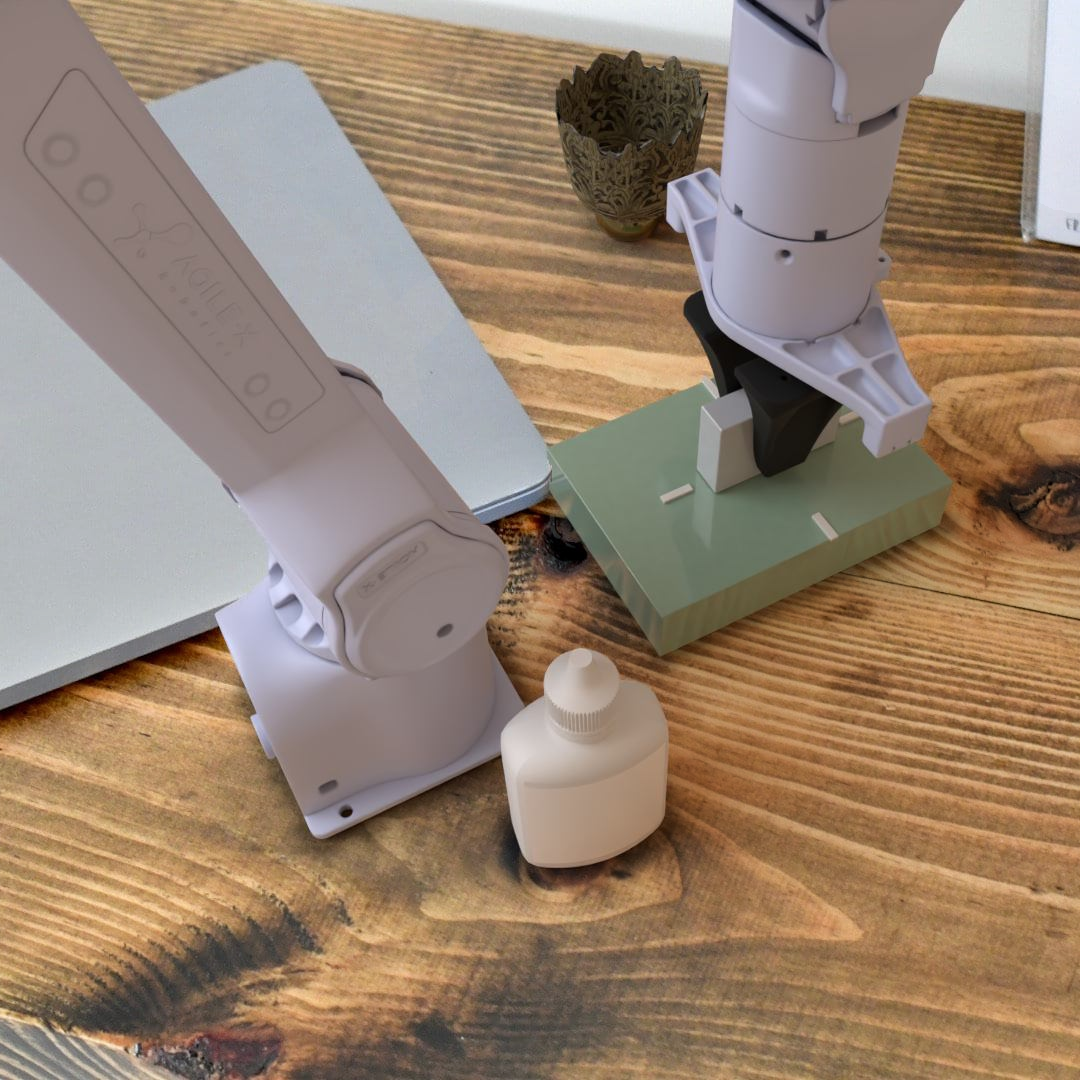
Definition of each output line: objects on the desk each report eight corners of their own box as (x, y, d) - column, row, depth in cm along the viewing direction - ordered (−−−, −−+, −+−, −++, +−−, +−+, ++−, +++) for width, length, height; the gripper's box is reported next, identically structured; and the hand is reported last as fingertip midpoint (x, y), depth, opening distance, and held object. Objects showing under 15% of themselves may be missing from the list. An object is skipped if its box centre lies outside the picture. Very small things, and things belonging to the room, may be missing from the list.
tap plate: (661, 659, 53) (663, 617, 51) (547, 488, 59) (544, 443, 57) (941, 526, 57) (956, 481, 54) (808, 377, 62) (816, 329, 60)
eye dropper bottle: (653, 889, 48) (662, 734, 38) (503, 864, 49) (475, 706, 39) (670, 782, 50) (682, 610, 41) (527, 759, 51) (505, 586, 41)
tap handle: (715, 494, 55) (721, 427, 51) (695, 468, 55) (700, 401, 52) (835, 441, 56) (850, 372, 53) (814, 416, 57) (827, 347, 53)
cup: (538, 252, 68) (530, 123, 62) (588, 167, 72) (585, 37, 66) (674, 284, 66) (680, 154, 60) (718, 195, 70) (727, 64, 64)
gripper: (1040, 272, 41) (951, 529, 52) (785, 43, 49) (755, 308, 60) (853, 352, 40) (802, 600, 51) (621, 102, 48) (620, 363, 58)
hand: (767, 446), depth 55 cm, fingers closed on tap handle, 2 cm apart
